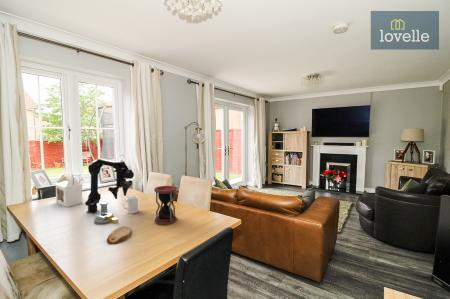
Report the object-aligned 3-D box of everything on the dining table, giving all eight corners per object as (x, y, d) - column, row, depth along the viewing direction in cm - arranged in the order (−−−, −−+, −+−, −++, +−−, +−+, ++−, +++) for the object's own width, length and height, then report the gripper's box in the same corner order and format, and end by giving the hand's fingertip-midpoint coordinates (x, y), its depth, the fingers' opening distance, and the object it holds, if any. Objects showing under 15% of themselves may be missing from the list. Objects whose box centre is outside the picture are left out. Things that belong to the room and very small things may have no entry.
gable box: (82, 203, 199) (81, 173, 197) (65, 207, 188) (64, 175, 186) (72, 198, 212) (71, 170, 210) (56, 202, 201) (55, 172, 199)
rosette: (89, 222, 156) (89, 216, 156) (104, 216, 168) (104, 210, 168) (109, 226, 151) (109, 219, 151) (122, 219, 164) (122, 213, 163)
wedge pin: (100, 215, 171) (99, 203, 171) (104, 213, 175) (104, 202, 175) (104, 215, 170) (104, 204, 170) (108, 213, 174) (108, 202, 174)
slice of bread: (126, 227, 150) (126, 222, 150) (140, 235, 139) (140, 230, 138) (98, 236, 136) (98, 231, 136) (110, 246, 125) (110, 240, 125)
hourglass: (169, 215, 174) (169, 184, 172) (180, 221, 162) (181, 188, 160) (150, 220, 162) (150, 187, 161) (161, 227, 151) (161, 192, 149)
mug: (124, 215, 172) (124, 200, 171) (121, 212, 178) (121, 197, 178) (139, 212, 180) (139, 197, 179) (136, 209, 186) (136, 195, 185)
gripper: (120, 180, 158) (120, 201, 159) (137, 176, 175) (137, 195, 177) (107, 179, 161) (108, 200, 162) (125, 175, 179) (125, 193, 180)
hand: (120, 197), depth 170 cm, fingers open, 9 cm apart
